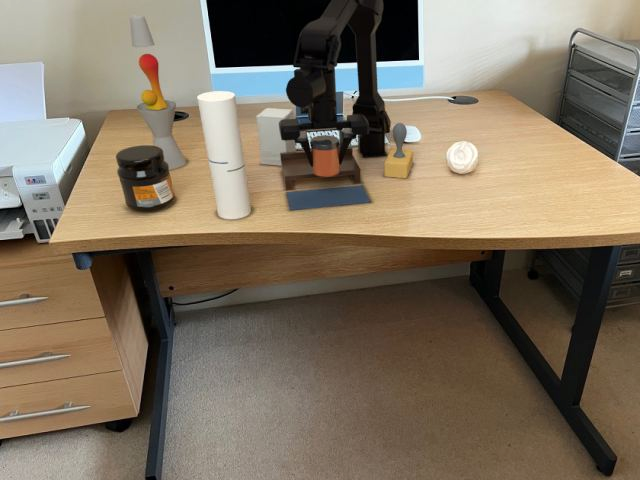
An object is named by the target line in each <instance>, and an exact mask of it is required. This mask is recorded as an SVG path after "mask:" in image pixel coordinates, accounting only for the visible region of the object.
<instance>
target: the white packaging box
mask: <svg viewBox="0 0 640 480" xmlns="http://www.w3.org/2000/svg"><path fill="white" fill-rule="evenodd" d="M255 118H256V129H257V137H258V145H259V153H260V163H261V164H262V165H268V166H269V165H270V166H281V158H280V153H284V152H296V151H297V148H296V147H297V146H296V143H295V141H294V140H287V141H284V140H281V136H280V131H279V122H280V121H281V120H284V119H294V111H293V109H291V108H290V109H289V108H275V107H265V109H264V110H262V111H260V113H258V114H257V115H256V116H255Z"/></svg>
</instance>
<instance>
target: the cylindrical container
mask: <svg viewBox="0 0 640 480" xmlns="http://www.w3.org/2000/svg"><path fill="white" fill-rule="evenodd" d="M196 98H197V104H198V109H199V115H200V116H199V117H200V121H201V127H202V132H203V138H204V139H203V140H204V143H205V149H206V150H205V151H206V155H207V161H208V167H209V172H210V177H211V183H212V188H213V194H214V200H215V201H214V202H215V206H216V212H217V216H218V217H220V218H221V219H225V220H238V219H242V218H245V217H247V216H248V215H250V214H251V212H252V208H251V207H252V206H251V200H250V192H249V186H248V185H249V184H248V179H247V171H246V165H245V157H244V156H245V155H244V150H243V142H242V136H241V129H240V120H239V115H238V106H237V100H236V94H235V93H234V92H231V91H227V90H214V91H213V90H212V91H206V92H202V93H200V94H198V95H197V96H196Z"/></svg>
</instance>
